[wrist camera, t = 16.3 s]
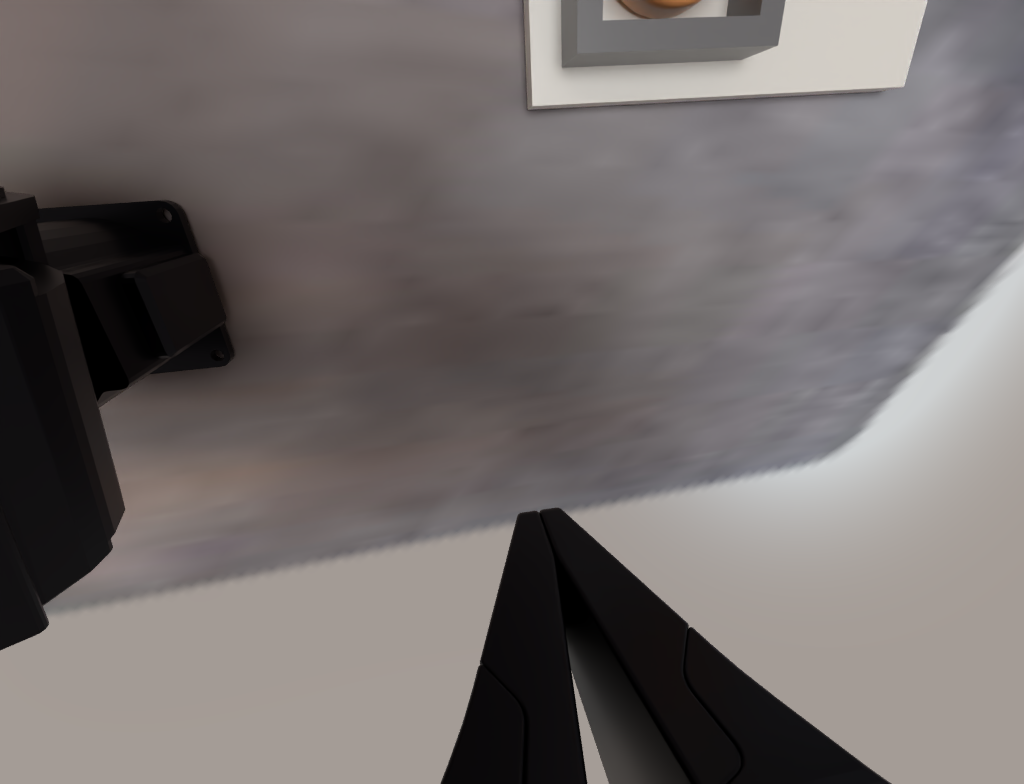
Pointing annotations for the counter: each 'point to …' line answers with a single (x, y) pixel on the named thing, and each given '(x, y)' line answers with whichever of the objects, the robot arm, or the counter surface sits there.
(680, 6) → the button
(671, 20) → the picture board
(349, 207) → the counter surface
